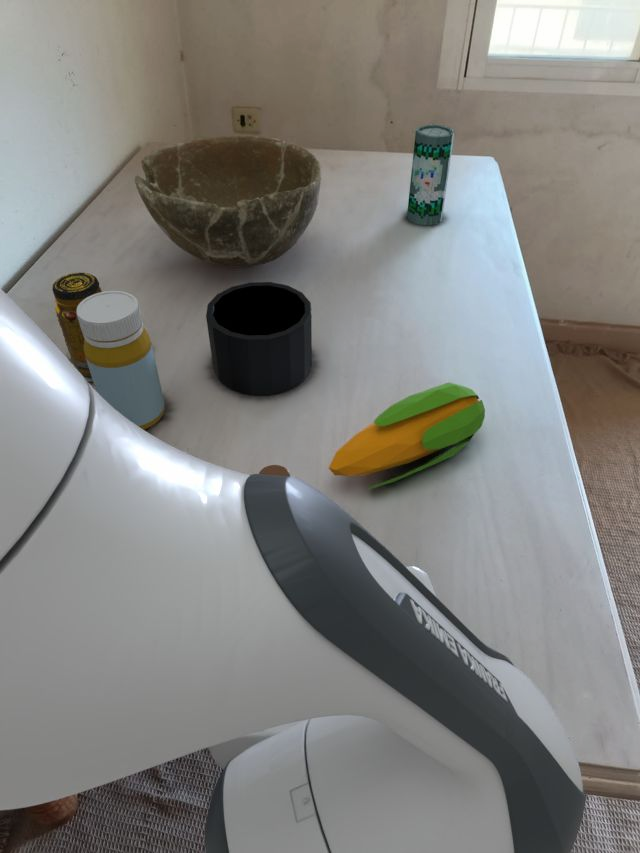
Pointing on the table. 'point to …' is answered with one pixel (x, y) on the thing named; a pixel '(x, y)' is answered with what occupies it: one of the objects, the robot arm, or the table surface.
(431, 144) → the can
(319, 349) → the table surface
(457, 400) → the corn
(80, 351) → the condiment
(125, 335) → the bottle
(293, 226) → the bowl
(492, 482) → the table surface
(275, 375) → the pot
